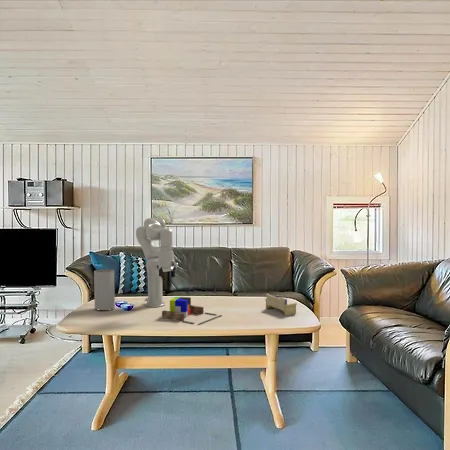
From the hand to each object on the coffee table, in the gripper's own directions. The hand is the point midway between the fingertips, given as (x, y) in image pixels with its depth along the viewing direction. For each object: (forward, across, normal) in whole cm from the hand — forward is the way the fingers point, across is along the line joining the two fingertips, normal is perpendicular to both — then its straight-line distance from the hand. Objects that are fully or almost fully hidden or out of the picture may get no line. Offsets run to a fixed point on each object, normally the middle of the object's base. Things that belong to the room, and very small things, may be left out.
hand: (166, 276), depth 248 cm
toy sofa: (+23, +59, +39) cm, 74 cm away
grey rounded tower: (+23, -42, -13) cm, 49 cm away
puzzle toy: (+23, +11, 0) cm, 25 cm away
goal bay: (+23, +27, -1) cm, 35 cm away
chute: (+23, +13, 0) cm, 26 cm away
